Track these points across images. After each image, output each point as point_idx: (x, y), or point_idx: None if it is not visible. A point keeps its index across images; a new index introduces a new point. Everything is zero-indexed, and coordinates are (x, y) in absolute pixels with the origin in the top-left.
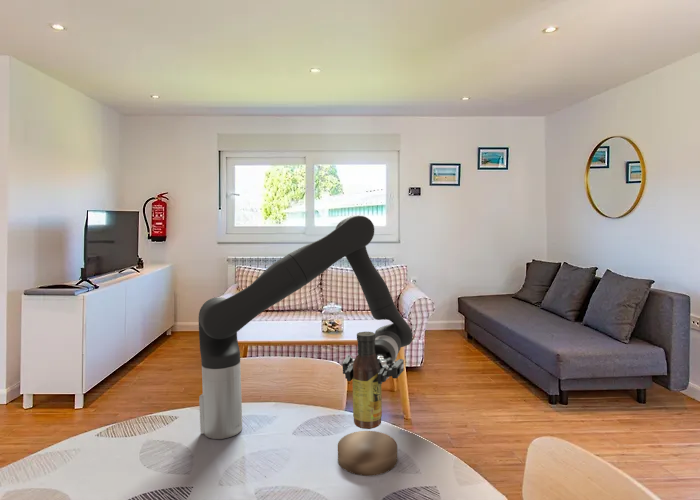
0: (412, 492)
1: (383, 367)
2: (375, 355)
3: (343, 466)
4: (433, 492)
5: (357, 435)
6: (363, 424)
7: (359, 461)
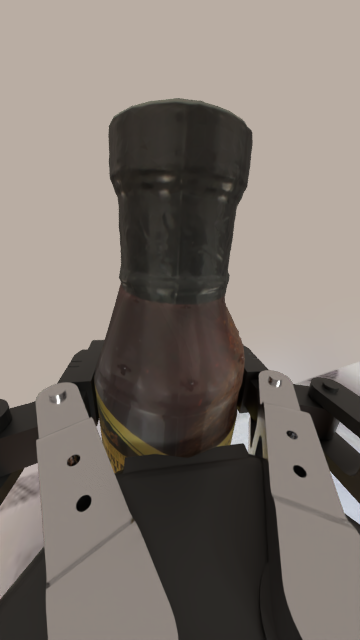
0: None
1: (76, 386)
2: (118, 292)
3: None
4: (15, 484)
5: None
6: None
7: None
